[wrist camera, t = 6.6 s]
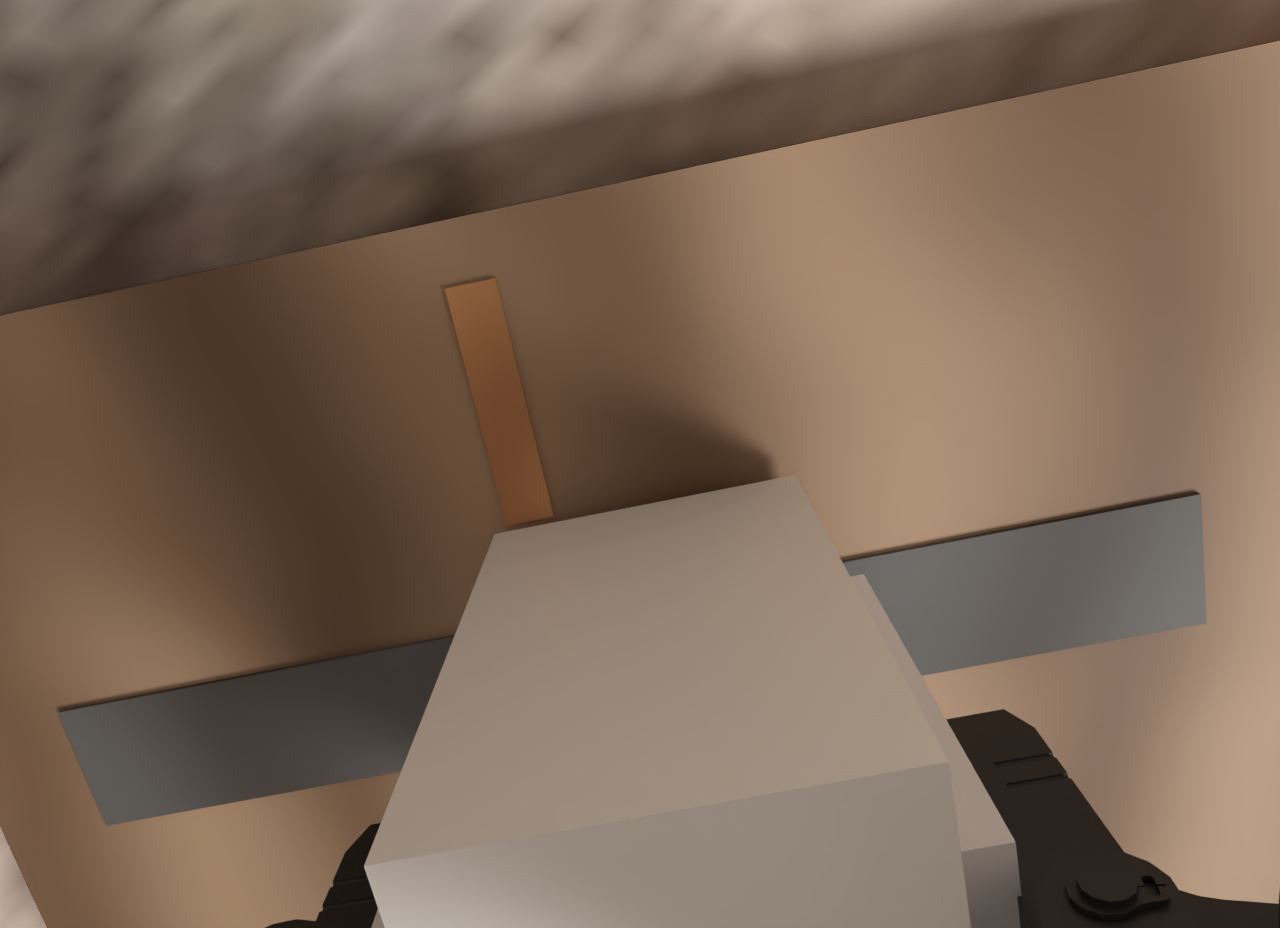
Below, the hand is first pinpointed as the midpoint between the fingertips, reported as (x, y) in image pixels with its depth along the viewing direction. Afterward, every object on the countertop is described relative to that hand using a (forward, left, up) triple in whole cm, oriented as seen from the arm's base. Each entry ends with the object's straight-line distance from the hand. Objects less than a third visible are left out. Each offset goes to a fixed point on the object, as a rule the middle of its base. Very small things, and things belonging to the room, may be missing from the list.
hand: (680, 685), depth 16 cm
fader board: (0, 0, -3) cm, 3 cm away
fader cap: (0, 0, -1) cm, 1 cm away
